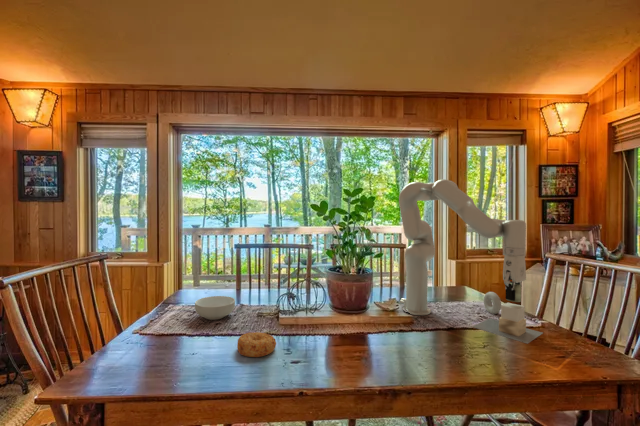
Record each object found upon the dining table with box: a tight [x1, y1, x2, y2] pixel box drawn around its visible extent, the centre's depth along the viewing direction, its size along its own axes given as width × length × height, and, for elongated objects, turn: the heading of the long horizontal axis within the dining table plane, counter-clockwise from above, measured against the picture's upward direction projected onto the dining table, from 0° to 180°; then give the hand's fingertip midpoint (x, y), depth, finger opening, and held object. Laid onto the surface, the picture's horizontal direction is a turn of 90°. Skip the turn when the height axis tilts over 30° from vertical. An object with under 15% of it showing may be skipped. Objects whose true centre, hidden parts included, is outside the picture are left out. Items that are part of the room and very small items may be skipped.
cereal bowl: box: [194, 295, 236, 321], centre depth 141 cm, size 17×17×7 cm
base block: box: [498, 316, 527, 336], centre depth 125 cm, size 7×7×5 cm
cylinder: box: [505, 283, 522, 303], centre depth 125 cm, size 5×5×6 cm
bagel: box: [236, 331, 277, 358], centre depth 109 cm, size 13×14×5 cm
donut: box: [483, 291, 502, 315], centre depth 148 cm, size 10×4×10 cm, turn 7°
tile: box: [471, 318, 544, 345], centre depth 127 cm, size 20×16×1 cm
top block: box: [500, 302, 525, 322], centre depth 125 cm, size 6×6×5 cm
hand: (513, 298), depth 125 cm, fingers closed on cylinder, 5 cm apart
